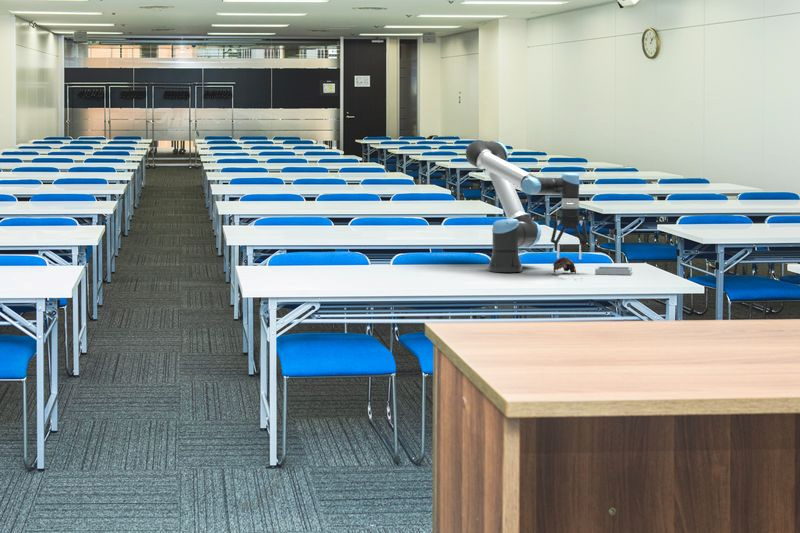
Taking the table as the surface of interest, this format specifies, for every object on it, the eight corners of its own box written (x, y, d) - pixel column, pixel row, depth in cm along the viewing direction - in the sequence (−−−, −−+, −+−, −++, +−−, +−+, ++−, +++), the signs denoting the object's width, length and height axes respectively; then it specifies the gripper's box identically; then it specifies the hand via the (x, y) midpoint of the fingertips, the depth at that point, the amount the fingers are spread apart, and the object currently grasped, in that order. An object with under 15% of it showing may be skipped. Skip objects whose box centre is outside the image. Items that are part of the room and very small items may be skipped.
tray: (595, 274, 471) (595, 269, 471) (597, 272, 487) (597, 266, 487) (630, 275, 468) (630, 269, 467) (631, 272, 483) (631, 267, 483)
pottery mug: (578, 274, 472) (569, 258, 471) (558, 284, 475) (550, 268, 473) (577, 267, 484) (569, 251, 482) (558, 276, 486) (550, 260, 485)
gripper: (544, 207, 475) (543, 258, 477) (594, 208, 470) (593, 260, 471) (546, 207, 482) (545, 257, 484) (595, 208, 477) (594, 258, 479)
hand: (569, 258), depth 478 cm, fingers open, 9 cm apart
